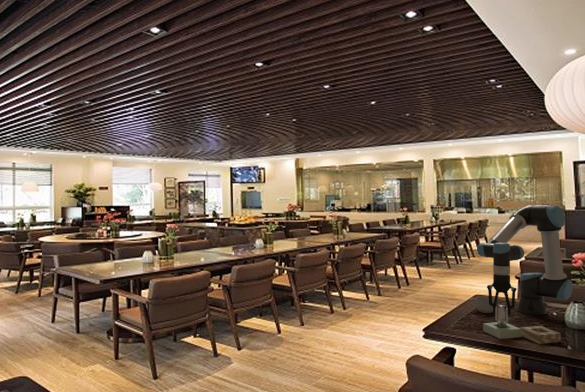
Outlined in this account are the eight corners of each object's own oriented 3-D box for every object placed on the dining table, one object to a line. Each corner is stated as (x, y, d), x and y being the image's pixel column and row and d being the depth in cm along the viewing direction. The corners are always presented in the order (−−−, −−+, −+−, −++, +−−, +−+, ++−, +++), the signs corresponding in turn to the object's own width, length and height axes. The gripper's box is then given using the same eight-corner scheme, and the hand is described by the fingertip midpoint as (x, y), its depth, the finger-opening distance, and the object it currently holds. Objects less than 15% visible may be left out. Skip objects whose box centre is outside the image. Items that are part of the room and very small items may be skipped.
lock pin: (502, 328, 211) (502, 304, 211) (508, 330, 207) (508, 306, 207) (495, 328, 210) (495, 304, 210) (501, 331, 206) (501, 306, 206)
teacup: (496, 311, 250) (496, 297, 250) (494, 315, 241) (494, 301, 241) (471, 308, 258) (471, 295, 258) (468, 312, 249) (468, 298, 249)
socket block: (503, 329, 216) (503, 321, 216) (521, 337, 204) (521, 328, 204) (483, 331, 213) (483, 323, 213) (499, 338, 201) (499, 330, 201)
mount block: (540, 333, 209) (540, 325, 209) (560, 341, 197) (560, 333, 197) (519, 335, 206) (519, 327, 206) (539, 343, 194) (539, 335, 194)
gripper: (481, 273, 210) (482, 319, 210) (520, 276, 201) (520, 325, 201) (484, 271, 216) (484, 316, 216) (521, 274, 207) (521, 321, 207)
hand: (501, 320), depth 208 cm, fingers closed on lock pin, 4 cm apart
